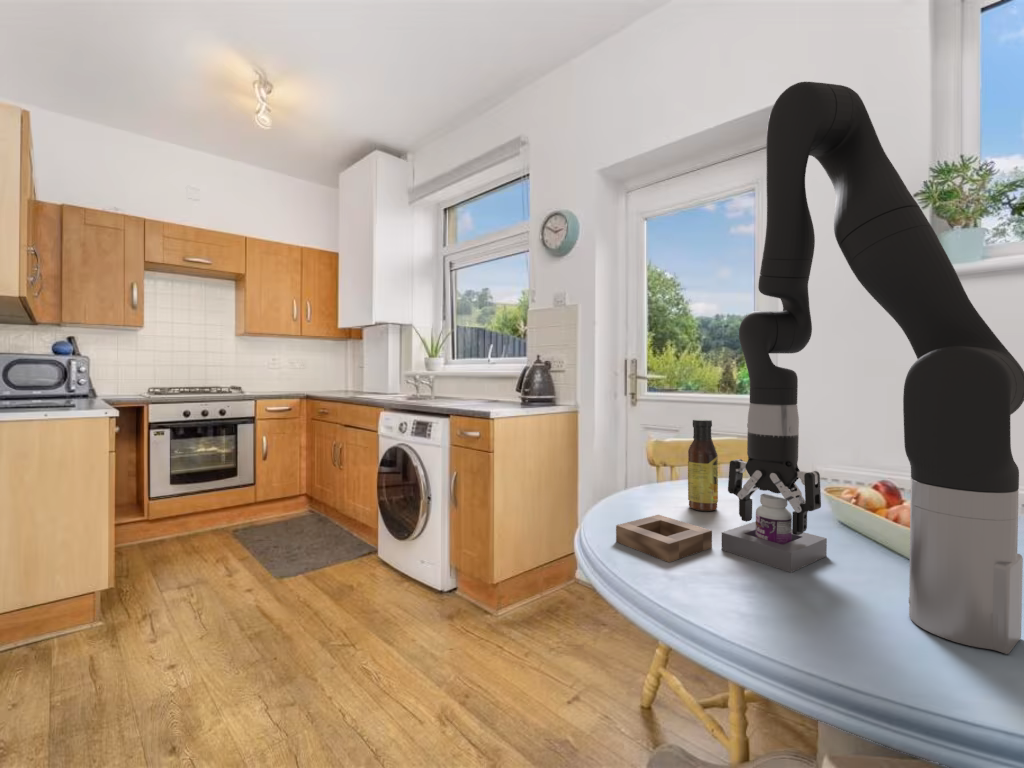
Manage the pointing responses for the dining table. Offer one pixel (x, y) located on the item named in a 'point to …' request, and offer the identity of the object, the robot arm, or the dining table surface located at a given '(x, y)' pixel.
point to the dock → (664, 537)
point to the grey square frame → (774, 548)
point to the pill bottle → (773, 519)
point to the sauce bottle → (702, 468)
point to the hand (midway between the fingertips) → (771, 526)
